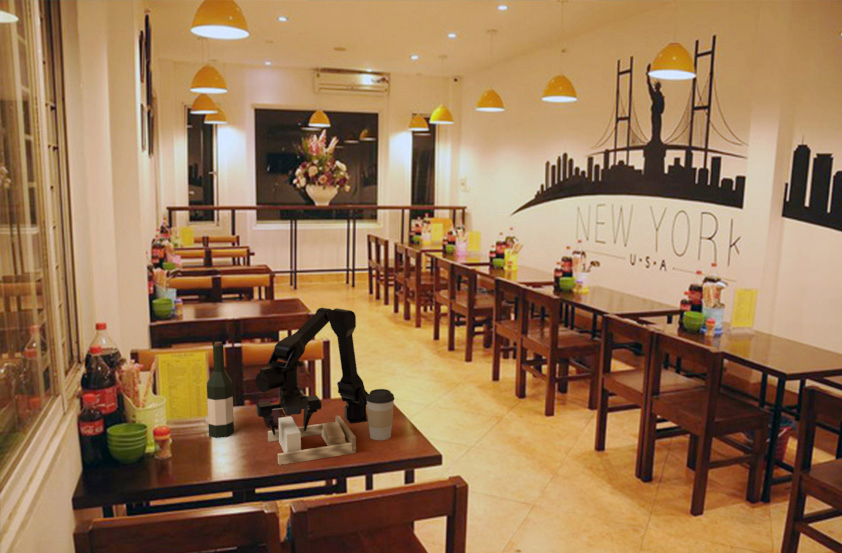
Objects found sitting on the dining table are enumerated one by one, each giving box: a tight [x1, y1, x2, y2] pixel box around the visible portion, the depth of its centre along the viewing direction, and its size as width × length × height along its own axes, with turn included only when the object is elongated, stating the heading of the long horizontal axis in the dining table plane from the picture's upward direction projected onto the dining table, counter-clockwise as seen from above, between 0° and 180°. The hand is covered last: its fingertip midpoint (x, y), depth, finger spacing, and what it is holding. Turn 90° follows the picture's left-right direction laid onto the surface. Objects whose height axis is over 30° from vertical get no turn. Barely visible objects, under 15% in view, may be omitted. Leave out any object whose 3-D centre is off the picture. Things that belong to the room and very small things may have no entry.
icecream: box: [262, 410, 286, 428], centre depth 212 cm, size 7×7×15 cm
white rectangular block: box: [278, 415, 302, 453], centre depth 194 cm, size 4×14×8 cm, turn 22°
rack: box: [267, 415, 357, 466], centre depth 196 cm, size 23×19×5 cm
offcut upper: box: [322, 421, 345, 446], centre depth 199 cm, size 5×12×2 cm, turn 17°
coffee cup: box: [366, 388, 395, 441], centre depth 204 cm, size 9×9×15 cm
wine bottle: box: [206, 341, 235, 439], centre depth 205 cm, size 8×8×30 cm
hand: (289, 432), depth 194 cm, fingers open, 9 cm apart
